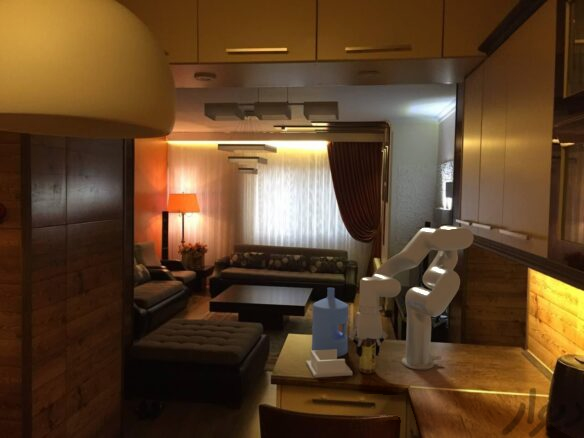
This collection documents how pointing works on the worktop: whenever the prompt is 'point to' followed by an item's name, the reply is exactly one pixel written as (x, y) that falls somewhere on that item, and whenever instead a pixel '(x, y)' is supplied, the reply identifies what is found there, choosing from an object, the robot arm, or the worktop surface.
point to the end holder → (327, 364)
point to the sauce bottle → (368, 356)
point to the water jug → (330, 324)
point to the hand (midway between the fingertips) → (367, 354)
